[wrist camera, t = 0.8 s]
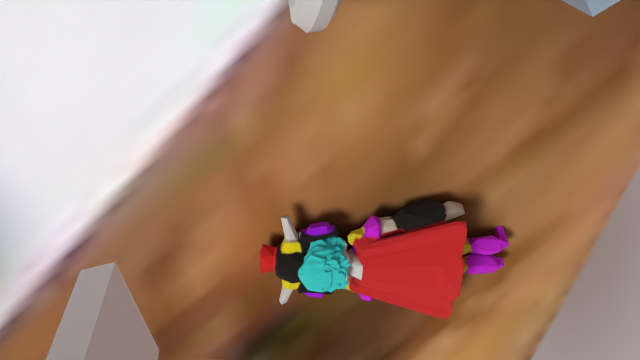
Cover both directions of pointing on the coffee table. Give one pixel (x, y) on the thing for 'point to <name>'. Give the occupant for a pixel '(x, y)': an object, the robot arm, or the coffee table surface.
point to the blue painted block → (591, 5)
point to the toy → (387, 258)
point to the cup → (313, 13)
